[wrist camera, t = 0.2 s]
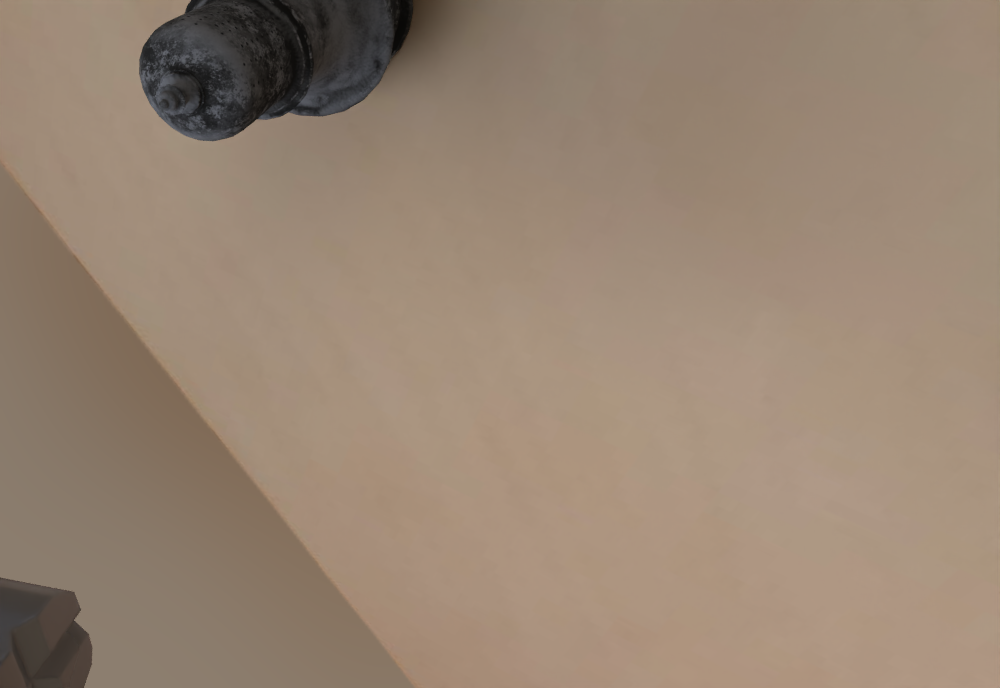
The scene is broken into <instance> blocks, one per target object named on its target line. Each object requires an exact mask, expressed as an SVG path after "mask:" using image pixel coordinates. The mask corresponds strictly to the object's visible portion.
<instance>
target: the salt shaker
mask: <svg viewBox="0 0 1000 688" xmlns="http://www.w3.org/2000/svg"><path fill="white" fill-rule="evenodd" d="M412 12H413V1H412V0H191V1H190V3H189V4H188V6H187V8H186V11H185V14H183V15H181V16H179V17H177V18H175V19H173V20H170V21H168V22H166V23H165V24H163V25H162V26H160V27H159V28H158V29H156V30H155V31H154V32H153V34H152V35H151V36H150V38H149V39H148V40H147V42H146V43H145V45H144V46H143V49H142V53H141V56H140V68H139V74H140V78H141V83H142V87H143V90H144V92H145V94H146V96H147V98H148V100H149V103H150V104H151V106H152V107H153V108H154V110H155V111H156V112H157V114H158V115H159V116H160V117H161V118H162V119H163V120H164V121H165V122H166V123H167V124H168V125H169V126H171V127H172V128H173V129H175V130H177V131H178V132H180V133H182V134H183V135H185V136H188V137H191V138H194V139H197V140H203V141H216V140H221V139H225V138H229V137H233V136H234V135H236V134H238V133H239V132H241V131H243V130H244V129H245V128H246V127H248V126H249V125H250V124H251V123H253V122H254V121H255V120H256V119H263V120H267V119H271V118H276V117H280V116H283V115H284V114H286V113H288V112H290V113H293V114H296V115H303V116H326V115H330V114H334V113H339V112H343V111H345V110H347V109H349V108H350V107H352V106H354V105H356V104H357V103H359V102H361V101H362V100H364V99H365V98H366V97H367V95H368V94H369V93H370V92H371V91H372V90H373V89H374V88H375V87H376V86H377V85H378V84H379V82H380V80H381V78H382V76H383V74H384V72H385V70H386V68H387V66H388V64H389V62H390V59H391V58H392V57H393V56H394V55H395V54H396V52H397V51H398V50H399V49H400V48H401V46H402V44H403V42H404V40H405V38H406V36H407V34H408V32H409V28H410V23H411V18H412Z"/></svg>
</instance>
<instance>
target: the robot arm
mask: <svg viewBox="0 0 1000 688" xmlns="http://www.w3.org/2000/svg"><path fill="white" fill-rule="evenodd" d="M80 611H81V608H80V606H79V603H78V600H77V598H76V595H75V593H74V592H72V591H67V590H61V589H57V588H51V587H46V586H41V585H36V584H30V583H25V582H20V581H15V580H10V579H5V578H0V688H84V686H85V683H86V680H87V677H88V674H89V671H90V668H91V665H92V644H91V641H90V637H89V634H88V633H87V632H86V631H85V630H84V629H83V628H82V627H81V626H80V625H78V624H77V623H76V622H75V621H74V619H75V617H76V616H77V615H78V614H79V612H80Z"/></svg>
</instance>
